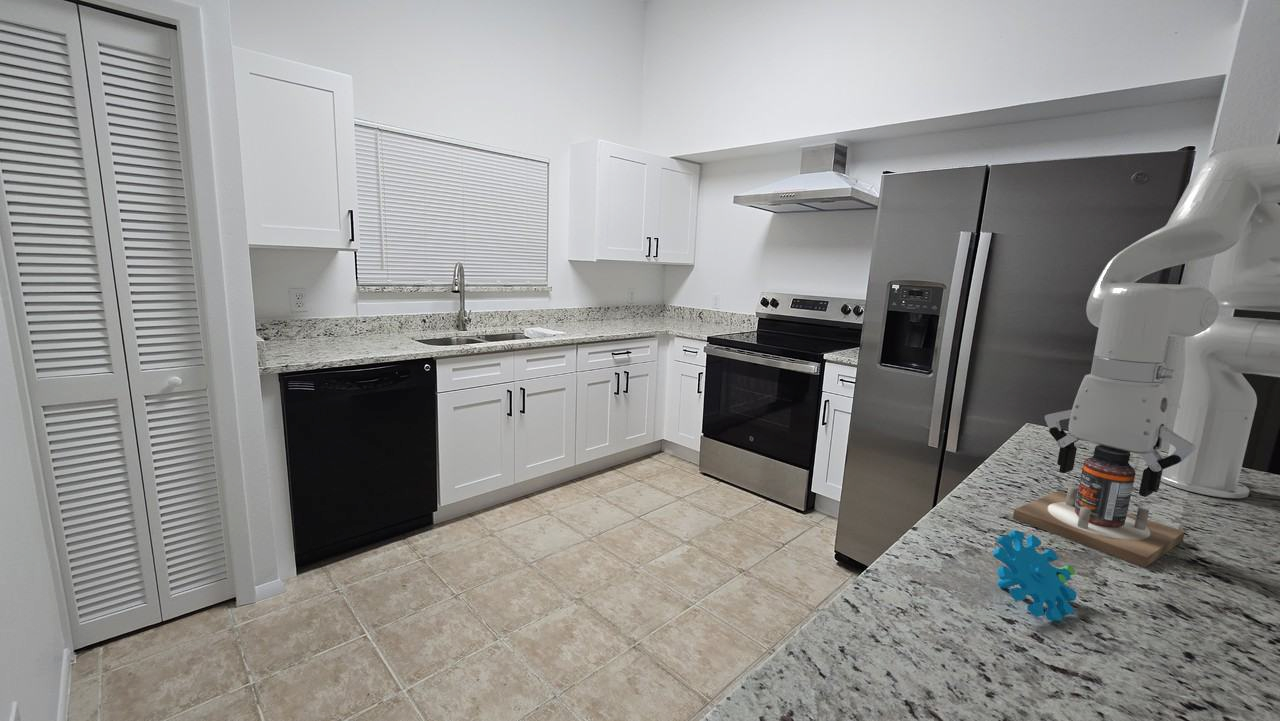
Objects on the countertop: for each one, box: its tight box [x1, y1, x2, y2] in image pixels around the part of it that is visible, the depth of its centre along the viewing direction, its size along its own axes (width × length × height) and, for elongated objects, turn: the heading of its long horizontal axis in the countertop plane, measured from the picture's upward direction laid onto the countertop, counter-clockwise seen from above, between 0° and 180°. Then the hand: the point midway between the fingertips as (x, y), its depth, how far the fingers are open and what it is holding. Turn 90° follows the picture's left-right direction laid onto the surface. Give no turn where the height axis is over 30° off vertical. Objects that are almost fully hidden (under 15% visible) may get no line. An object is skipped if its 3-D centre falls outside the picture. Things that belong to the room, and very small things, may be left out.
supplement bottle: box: [1075, 444, 1136, 527], centre depth 81 cm, size 6×6×11 cm
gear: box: [992, 529, 1077, 622], centre depth 64 cm, size 11×6×10 cm
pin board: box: [1012, 486, 1186, 569], centre depth 82 cm, size 15×16×4 cm
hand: (1103, 482), depth 81 cm, fingers open, 9 cm apart
